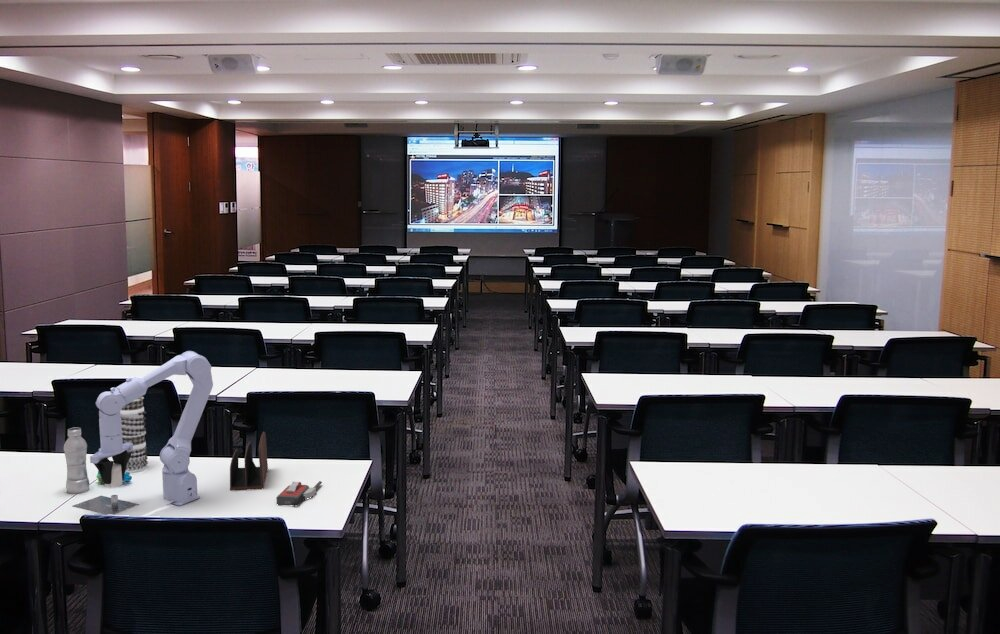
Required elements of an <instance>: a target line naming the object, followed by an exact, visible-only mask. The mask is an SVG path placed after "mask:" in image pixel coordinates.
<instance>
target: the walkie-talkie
mask: <svg viewBox="0 0 1000 634" xmlns="http://www.w3.org/2000/svg"><path fill="white" fill-rule="evenodd" d="M322 484H323V482H322V481H321V480H319V481H318V482H317V483H316V484H315V485H314V486H313V487H310V486H309V485H308V484H302V482H301V481H292V482H291V484H289V485H288V486H287V487H285V488H284V489H283V491H281V493H279V494H278V495H277V496H276V505H277V504H278V505H277V506H281V505H298V504H299V503H300V502H301V501H302V502H303V501H304V500H303V499H307V498H310V497H312V496H313V495H314V494H315V493H316V494H317V490H318V488H319V487H320V485H322ZM316 494H315V495H316ZM315 495H314V496H315ZM314 496H313V497H314ZM313 497H312V498H313ZM307 500H308V499H307ZM302 502H301V503H302ZM301 503H300V504H301ZM300 504H299V505H300ZM299 505H298V506H299Z"/></svg>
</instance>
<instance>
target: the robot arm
mask: <svg viewBox="0 0 1000 634" xmlns="http://www.w3.org/2000/svg"><path fill="white" fill-rule="evenodd" d="M173 375H178V376H188V378H189V380H190V381H191V383H192V385H193V386H192V388H191V392H190V394H189V397H188V399H187V402H186V403H185V407H184V409H183V410H182V413H181V416H180V419H179V421H178V423H177V426H176V429H175V431H174V434H173V435H172V437H170V438H169V439H168V441H167V443H166V445H165V446H164V447H163V448H162V449H161V450H160V453H159V459H160V460H159V461H161V463H162V464H163V468H162V469H161V471H162V472H161V475H162V493H163V495H162V496H163V499H164V500H167V501H172V502H170V504H171V505H175V506H182V505H186V504H188V503H190V502H192V501H194V500H197V499H200V498H201V497H200V495H198V480H197V476H196V475H195V474H194V473H193V472H191V471H190V470H189V466H190V454H191V452H192V440H193V437H194V435H195V432H196V431H197V428H198V425H199V423H200V420H201V417H202V415H203V412H204V410H205V407H206V404H207V403H208V400H209V397H210V395H211V392H212V389H213V386H214V382H213V375H212V365H211V364H210V362H209V361H208V359H207V357H205V356H203V355H201V354H198V353H197V352H196V351H192V350H187V351H185V352H182V353H181V354H178V355H176V356H174V357H173V358H171V359H170V360H168V361H167V362H165V363H163V364H161V365H160V366H159V367H157V368H156V369H153V370H152V371H150V372H149V373H147V374H146V375H144V376H142V377H136V376H133V377H130V376H129V377H128V378H126V379H125V380H126V381H125V382H123V383H121V384H119V385H118V386H116V387H115V386H114V387H111V388H109V389H110V391H103V392H101V393H100V394H99V395H98V397H97V399H96V401H95V406H96V408H98V409H99V410H98V417H99V419H98V422H99V425H98V427H99V439H100V440H99V442H100V448H98V451H96V453H94V454H92V455H90V456H89V463H90V464H93V465H94V466H95V467H96V469H97V472H98V471H99V473H100V475H101V477H102V480H103V482H102V483H103V484H104V485H105V484H111V480H112V467H113V464H121V470H122V479H123V478H124V475H125V470H126V466H127V463H128V461H129V459H130V457H131V453H130V452H127V451H128V450H133V443H128V442H127V443H124V444H123V441H122V424H121V415H120V411H121V410H122V408H123V406H125V405H127V404H129V403H130V402H132V401H134V400H136V399H137V398H139V397H144V396H145V395H146V393H147V390H148V388H151V387H152V386H154V385H156V384H158V383H160V382H162V381H164V380H166V379H168V378H170V377H172V376H173ZM110 458H111V459H112V460H110Z"/></svg>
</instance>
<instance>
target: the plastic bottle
mask: <svg viewBox="0 0 1000 634" xmlns="http://www.w3.org/2000/svg"><path fill="white" fill-rule="evenodd" d="M87 449H88V443H87V441H86V440H85V439H84V438H83V437H82V428H81V427H71V428H68V429H67V439H66V440H65V442H64V445H63V452H64V457H65V461H66V462H65V463H66V481H65V482H66V483H65V489H66V493H68V494H71V495H75V494H83V493H85V492H87V491H89V490H90V485H91V484H90V479H89V476H88V475H89V474H88V469H87V451H88V450H87Z"/></svg>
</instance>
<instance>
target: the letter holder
mask: <svg viewBox="0 0 1000 634" xmlns="http://www.w3.org/2000/svg"><path fill="white" fill-rule="evenodd" d="M259 439H260V440H259V443H258V461H259V462H258V463H259V466H256V464H255V463H254V457H253V441H252V440H250V441H249V442H248V444H247V445H246V450H245V454H244V467H239V448H235V450H234V452H233V455H232V458H231V460H230V466H229V490H235V491H248V490H247V489H254V490H263V489H264V488H265V487H264V486H265V483H264V482H266V479H267V474H266V473H268V470H269V466H268V465H269V464H268V451H267V450H268V449H267V435H266V432H265V431H262V434H261V435H260V438H259ZM267 469H268V470H267ZM265 478H266V479H265ZM262 488H263V489H262Z"/></svg>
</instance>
